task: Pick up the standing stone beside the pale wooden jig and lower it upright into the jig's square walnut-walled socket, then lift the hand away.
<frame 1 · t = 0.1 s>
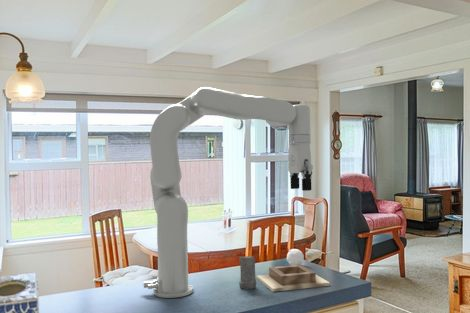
hand: (300, 189, 149), 31 cm above the kitchen counter, tool pointing down, fingers open, 9 cm apart
ornament: (295, 266, 168), on the kitchen counter
stone: (247, 288, 141), on the kitchen counter
jig: (291, 281, 146), on the kitchen counter
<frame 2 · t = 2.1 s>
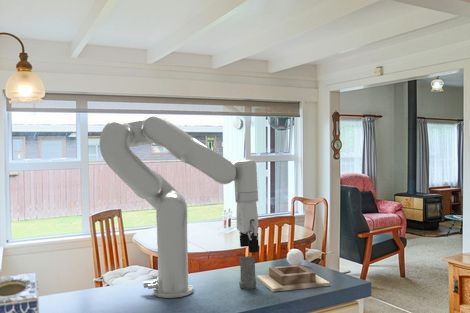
hand: (249, 249, 141), 12 cm above the kitchen counter, tool pointing down, fingers open, 9 cm apart
nothing on the kitchen counter moved.
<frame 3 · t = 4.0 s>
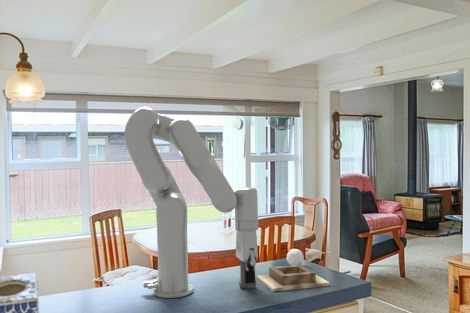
hand: (247, 280, 141), 2 cm above the kitchen counter, tool pointing down, fingers closed on stone, 4 cm apart
stone: (247, 287, 141), on the kitchen counter, touching gripper
everything else where it was.
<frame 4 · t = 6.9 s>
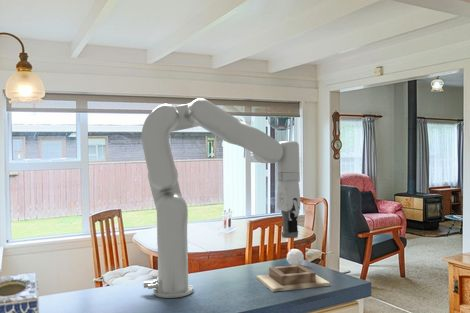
hand: (290, 230, 146), 17 cm above the kitchen counter, tool pointing down, fingers closed on stone, 4 cm apart
stone: (289, 237, 146), point 15 cm above the kitchen counter, touching gripper
everything else where it was.
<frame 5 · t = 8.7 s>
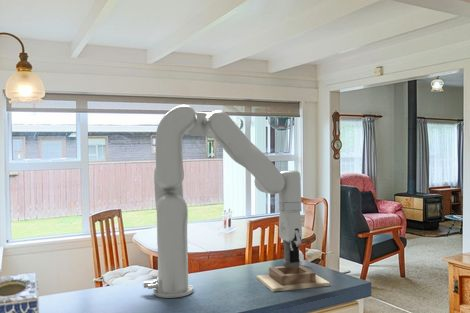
hand: (291, 260, 146), 7 cm above the kitchen counter, tool pointing down, fingers closed on stone, 4 cm apart
stone: (291, 267, 146), point 5 cm above the kitchen counter, touching gripper
everything else where it was.
when the fingers open (5 cm above the kitchen counter, at t = 10.0 s): stone drops 1 cm, resting on jig.
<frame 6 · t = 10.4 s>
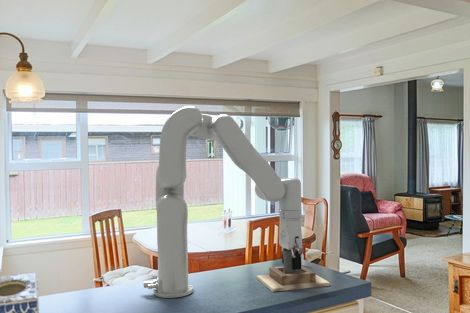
hand: (291, 265, 146), 5 cm above the kitchen counter, tool pointing down, fingers open, 8 cm apart
stone: (290, 279, 146), point 1 cm above the kitchen counter, touching jig
everything else where it was.
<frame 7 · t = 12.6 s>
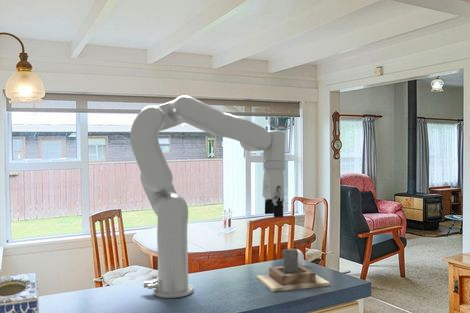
hand: (273, 215, 149), 22 cm above the kitchen counter, tool pointing down, fingers open, 9 cm apart
nothing on the kitchen counter moved.
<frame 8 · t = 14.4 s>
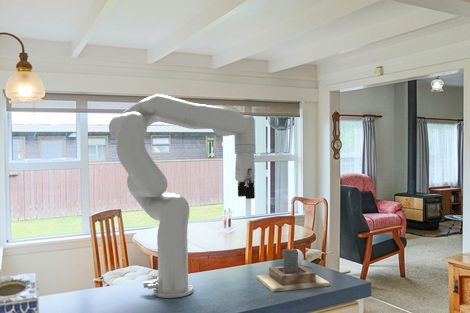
hand: (246, 197, 154), 28 cm above the kitchen counter, tool pointing down, fingers open, 9 cm apart
nothing on the kitchen counter moved.
at the end: stone 0.3 cm off-centre on the jig, point 0.8 cm above the jig's base; stone tilted 2°; the gripper is holding nothing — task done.
